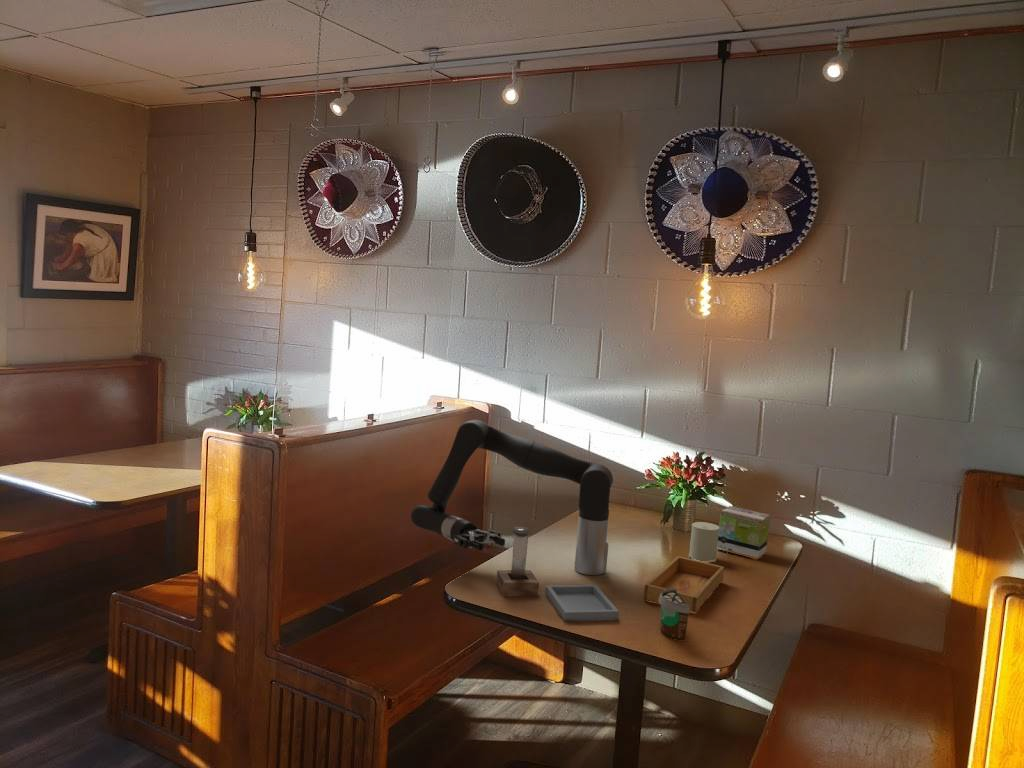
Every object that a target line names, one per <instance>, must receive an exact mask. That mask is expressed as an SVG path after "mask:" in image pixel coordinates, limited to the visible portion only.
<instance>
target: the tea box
mask: <svg viewBox="0 0 1024 768" xmlns="http://www.w3.org/2000/svg"><path fill="white" fill-rule="evenodd" d="M770 522H771V514H768V513H763V512H758V511H754V510H750V509H746V508H740V507H737V506H732V505H729V506H727V507H726V508H724V509H722V510H720V516H719V524H718V526H719V535H718V543H717V547H718V548H721V549H725V550H729V551H734V552H737V553H741V554H745V555H750V556H754V557H759V556H760V555H762V554H763V553H764V552H765V551H766V552H767V545H768V538H769V533H770V532H769V530H770Z"/></svg>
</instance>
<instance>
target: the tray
mask: <svg viewBox="0 0 1024 768" xmlns="http://www.w3.org/2000/svg"><path fill="white" fill-rule="evenodd" d="M724 572H725V567H724V566H720V565H717V564H713V563H705V562H701V561H696V560H692V559H690V558H689V557H688V558H687V557H683V556H679V555H678V556H676V557H675V558H674V559H672V561H670V562H669V563H668V564H667V565H666V566H665V567H663V568H662V569H660V571H659V572H658V573H657V574H656V575H654V576H653V577H652V578H651V579H649V581H648V582H646V583H645V584H644V590H643V591H644V592H643V601H644V600H648V601H652V602H657V603H659V601H658V600H659V597H660V594H661V593H662V591H663V590H665V589H670V588H677V593H678V595H679V596H680V597H682V598H683V600H684V602H685V604H686V605H690V611H693V612H696V611H697V609H698V608H699V607H700V606H701V604H702V603H703V602H704V601H705V600H706V599H707V598H708V597H709V595H710V594H711V593H712V592H713V591H714V590H715V589H716V588H717V586H718V585H719V584H720V583H721V582H722V583H723V580H724V574H725V573H724ZM722 583H721V584H722ZM721 584H720V585H721ZM720 585H719V586H720ZM719 586H718V587H719ZM717 589H718V588H717ZM717 589H716V590H717ZM716 590H715V591H716ZM715 591H714V592H715ZM714 592H713V593H714ZM709 598H710V597H709ZM709 598H708V599H709ZM697 612H698V611H697ZM697 612H696V613H697Z"/></svg>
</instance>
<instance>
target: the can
mask: <svg viewBox="0 0 1024 768" xmlns="http://www.w3.org/2000/svg"><path fill="white" fill-rule="evenodd" d="M718 535H719V525H717V524H714V523H712V522H711V523H710V522H707V521H705V522H704V521H695V522H693V523H691V534H690V541H689V542H690V543H689V553H688V557H689V556H690V557H691V558H693V559H696V560H700V561H709V560H714V559H716V560H717V553H718V552H717V551H718V550H717V543H718Z"/></svg>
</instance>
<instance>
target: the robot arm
mask: <svg viewBox="0 0 1024 768" xmlns="http://www.w3.org/2000/svg"><path fill="white" fill-rule="evenodd" d="M477 449H482V450H484V451H489V452H492V453H496V454H497V455H500V456H502V457H504V458H506V459H507V460H508V461H509V462H511V463H513V464H514V465H516V466H518V467H519V468H522V469H524V470H527V471H529V472H532V473H535V474H538V475H541V476H546V477H551V478H552V477H553V478H559V479H560V478H561V479H565V480H568V481H572V482H574V483H577V484H578V485H579V495H578V496H579V498H578V511H579V512H578V521H577V522H578V523H577V534H576V535H577V536H576V546H575V547H576V548H575V555H574V556H575V557H574V570H575V571H576V572H577V573H579V574H583V575H586V576H587V575H588V576H598V575H601V574H606V573H607V566H608V553H609V543H608V541H607V538H608V528H609V517H610V516H609V515H610V508H609V507H610V506H609V505H610V493H611V487H612V485H613V484H614V483H613V482H614V479H613V473H612V472H611V470H610V469H608V467H606V466H604V465H603V464H599V463H595V462H592V461H588V460H583V459H579V458H577V457H573V456H570V455H569V454H566V453H565V452H562V451H559V450H557V449H554V448H552V447H550V446H547V445H545V444H543V443H539V442H536V441H534V440H531V439H528V438H524V437H521V436H518V435H514V434H510V433H507V432H505V431H502V430H500V429H498V428H497V427H494V426H492V425H491V424H488V423H487V422H484V421H483V420H479V419H470V420H468V421H465V422H463V423H462V424H461V425H460V426H459V427H458V429H457V432H456V435H455V438H454V441H453V443H452V446H451V449H450V451H449V453H448V455H447V458H446V460H445V462H444V464H443V466H442V468H441V469H440V471H439V472H438V474H437V476H436V478H435V479H434V482H433V483H432V485H431V487H430V489H429V491H428V493H427V497H428V499H429V500H430V502H431V503H432V505H431V506H428V505H426V504H424V505H423V504H419V505H417V506H415V507H414V508H413V509H412V511H411V513H410V519H411V522H412V523H413V524H414V526H416V527H418V528H421V529H424V530H426V531H427V530H428V531H431V532H434V533H436V534H437V535H440V536H442V537H445V538H446V539H447V540H449V541H452V542H453V543H454V544H455V545H457V546H458V547H461V548H462V549H463V548H464V549H468V548H470V549H475V550H478V551H480V552H482V551H483V550H484V544H489V543H492V544H496V545H498V546H501V547H505V546H506V545H505V544H506V539H505V538H504V537H501V532H498V531H495V530H493V529H491V528H485V530H482V529H479V528H477V526H476V524H475V523H474V522H472V521H469V520H467V519H464V518H461V517H460V516H455V515H452V514H450V513H447V512H446V511H447V508H448V507H447V506H448V502H449V500H450V498H451V497H452V495H453V493H454V492H455V490H456V488H457V486H458V484H459V481H460V478H461V475H462V473H463V470H464V468H465V466H466V464H467V462H468V460H469V459H470V458H471V457H472V455H473V454H474V453H475V452H476V451H477Z"/></svg>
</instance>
